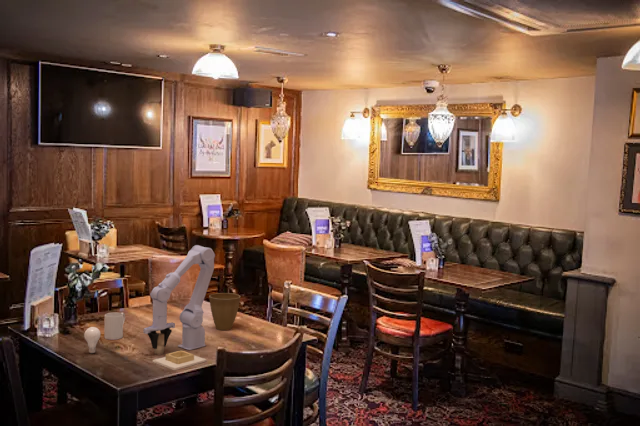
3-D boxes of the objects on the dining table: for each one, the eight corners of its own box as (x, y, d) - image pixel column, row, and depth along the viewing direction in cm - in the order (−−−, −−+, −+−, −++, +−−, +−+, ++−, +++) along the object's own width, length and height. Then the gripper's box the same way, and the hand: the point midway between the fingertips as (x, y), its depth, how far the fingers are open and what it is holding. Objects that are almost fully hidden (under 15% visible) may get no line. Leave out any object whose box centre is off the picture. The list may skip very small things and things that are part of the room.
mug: (116, 340, 287) (116, 317, 286) (100, 338, 289) (101, 315, 288) (131, 333, 299) (131, 311, 298) (116, 331, 301) (116, 309, 300)
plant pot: (242, 331, 310) (243, 298, 309) (212, 333, 305) (212, 299, 304) (235, 323, 324) (236, 291, 323) (205, 325, 319) (206, 293, 317)
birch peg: (160, 350, 275) (160, 332, 274) (165, 353, 272) (166, 334, 272) (152, 352, 272) (152, 334, 271) (157, 355, 269) (158, 336, 269)
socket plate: (184, 353, 273) (184, 346, 272) (206, 361, 264) (206, 354, 263) (152, 362, 260) (152, 354, 260) (174, 370, 251) (174, 362, 251)
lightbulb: (81, 352, 268) (81, 326, 267) (96, 350, 273) (96, 324, 272) (88, 356, 264) (88, 330, 263) (103, 353, 268) (103, 327, 267)
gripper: (168, 310, 279) (167, 341, 280) (139, 316, 268) (138, 348, 269) (178, 313, 274) (177, 345, 276) (149, 319, 263) (148, 352, 265)
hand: (159, 347), depth 272 cm, fingers closed on birch peg, 4 cm apart
